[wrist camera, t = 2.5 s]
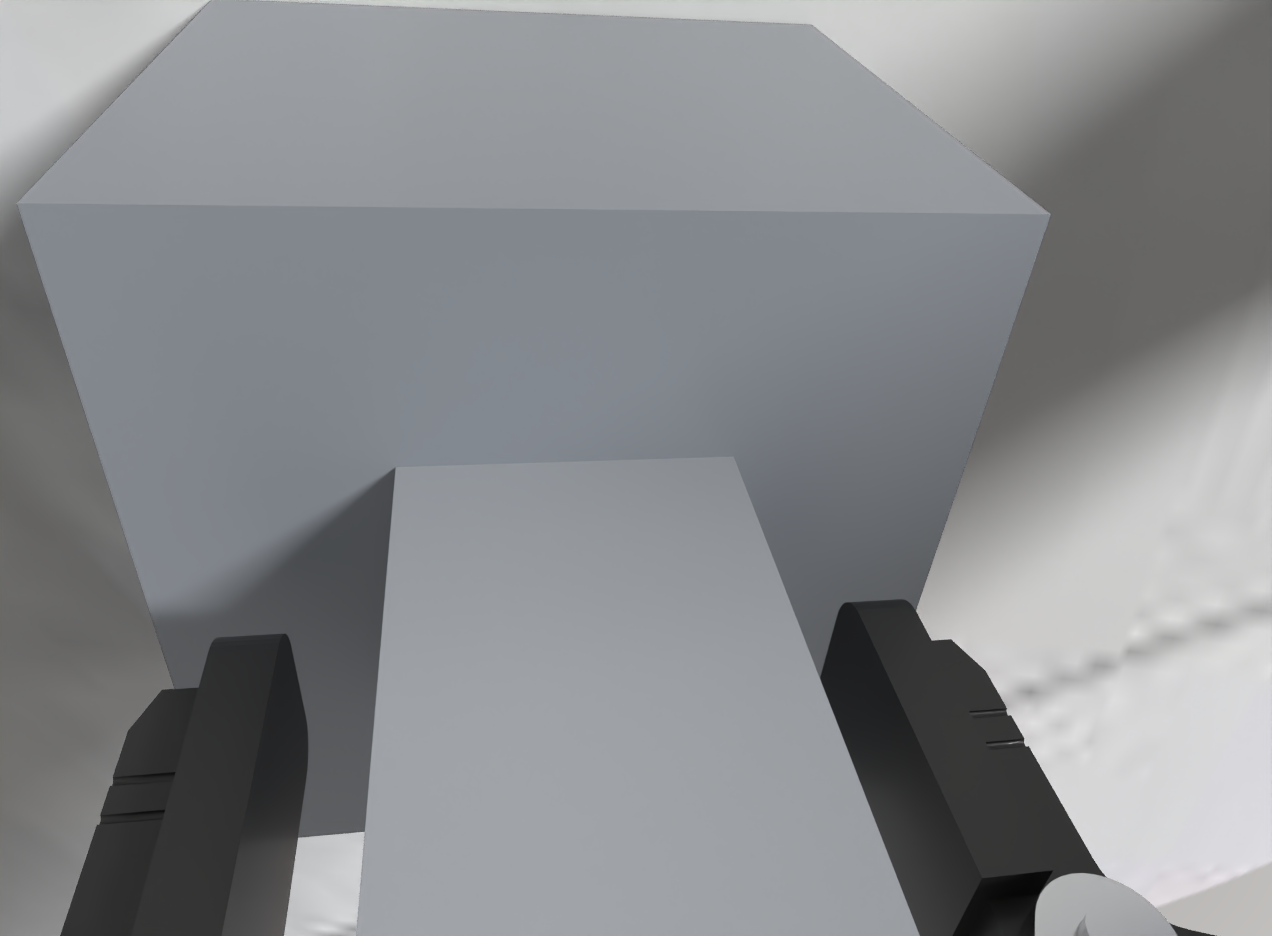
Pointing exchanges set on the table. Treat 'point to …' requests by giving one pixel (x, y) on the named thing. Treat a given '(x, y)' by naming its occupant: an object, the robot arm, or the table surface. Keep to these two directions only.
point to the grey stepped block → (539, 431)
